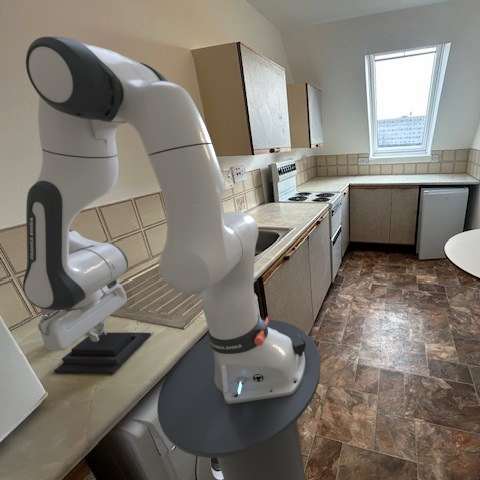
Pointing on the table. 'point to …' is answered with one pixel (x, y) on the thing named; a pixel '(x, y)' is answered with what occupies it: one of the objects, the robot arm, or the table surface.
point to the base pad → (101, 359)
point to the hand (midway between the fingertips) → (99, 337)
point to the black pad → (102, 345)
